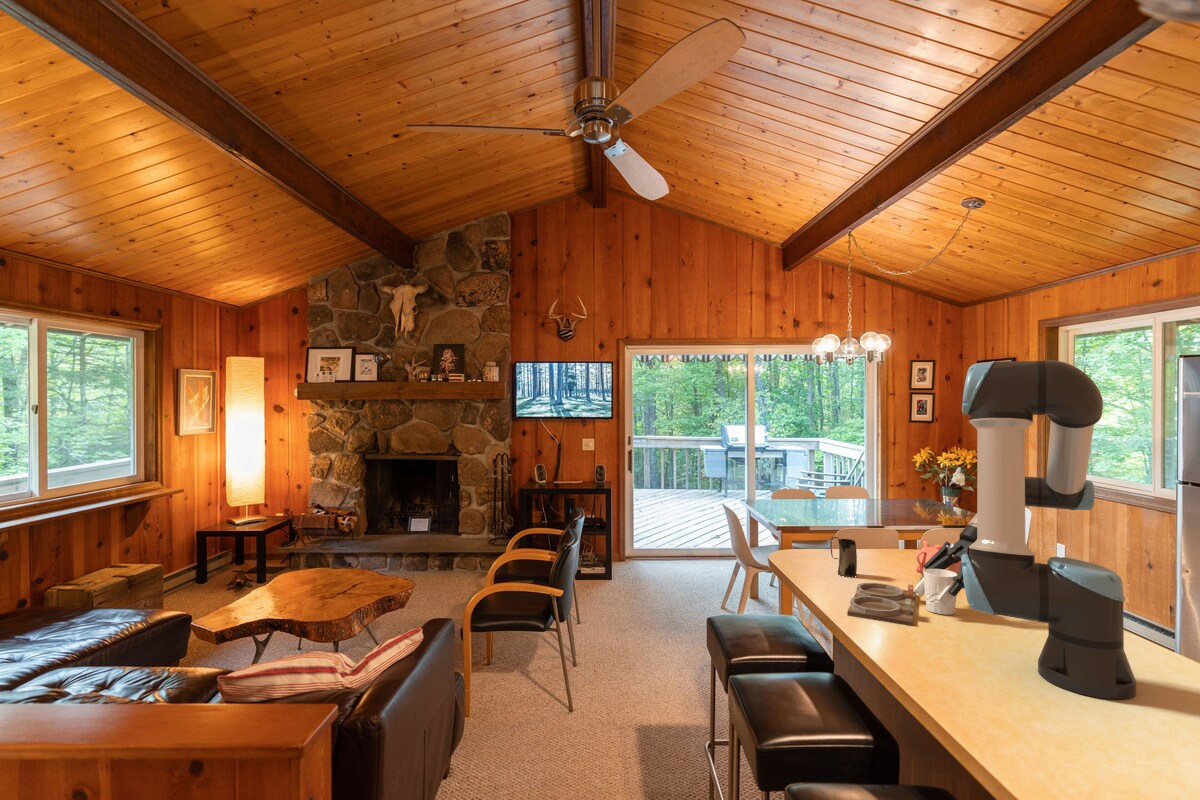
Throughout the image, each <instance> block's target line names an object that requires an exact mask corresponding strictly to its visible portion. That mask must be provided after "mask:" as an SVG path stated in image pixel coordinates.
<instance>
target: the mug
mask: <svg viewBox="0 0 1200 800" xmlns="http://www.w3.org/2000/svg"><path fill="white" fill-rule="evenodd" d="M834 539H838V550H839V551H838V554H839V555H838V556H839V557H838V558H836V557H834V556H833V546H832V543H833V542H832V541H833V540H834ZM829 543H830V544H829V545H830V547H829V548H830V555H831V557H832V558H833V560H838V569H837V575H838V576H839V575H840V577H842V576H844V577H843V578H848V577H853V578H856V577H857V571H858V555H857V544H856V541H855V540H854V539H851V538H850V539H849V538H839V537H837V536H832V537H831V538H830V540H829ZM855 576H856V577H855Z"/></svg>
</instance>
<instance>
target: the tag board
mask: <svg viewBox="0 0 1200 800" xmlns="http://www.w3.org/2000/svg"><path fill="white" fill-rule="evenodd" d="M916 600H917V592H916V591H915V590H914V584H908V585H907V589H902V588H900V587H898V586H894V585H893V584H892V585H891V584H887V583H880V582H863V583H862V582H861V583H858V584H857V585H856V591H855V593H854V596H853V597H851V599H850V601H849V602H850V605H849V608H848V609H847V611H846V612H847V614H846V615H847V616H848V617H854V618H860V619H861V618H862V619H868V620H873V621H874V620H875V621H879V622H887V623H892V624H893V623H894V624H899V625H905V626H913V625H914V618H915V617H914V616H915V610H914V609H916V602H917V601H916ZM915 601H916V602H915Z"/></svg>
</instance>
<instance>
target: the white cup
mask: <svg viewBox="0 0 1200 800" xmlns="http://www.w3.org/2000/svg"><path fill="white" fill-rule="evenodd" d="M923 573H924V591H925V593H924V599H925V609H926V610H928V611H929V612H932V613H935V614H939V615H954V614H956V604H957V595H958V594H957V595H956V596H954V597H953V598H952V599H951V600H950V602H949V603H948V604H947V605H946V607H945V606H943V605H942V604H941V603H940V602H939V601H938V600H937V598H938V597H939V595H940V594H941V593H942V592H943V590H944V589H945V588H946V587H947V585H948V584H949V583H950V582H951V581H952V580H954V578H956V577H957V574H956V573H954V572H952V571H948V570H942V569H925V570H924V571H923ZM954 581H955V580H954ZM955 582H956V581H955Z"/></svg>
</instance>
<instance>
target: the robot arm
mask: <svg viewBox="0 0 1200 800" xmlns="http://www.w3.org/2000/svg"><path fill="white" fill-rule="evenodd" d="M1103 409H1104V401H1103V396H1102V394H1101V391H1100V389H1099V387H1098V385H1097V384H1096V382H1094V380H1093V379H1092V378H1091V377H1090V376H1089V375H1088V374H1086V373H1085V372H1084V371H1083V370H1081V369H1080V368H1079V367H1077V366H1075V365H1072V364H1070V363H1068V362H1064V361H1061V360H1057V359H1056V360H1053V359H1044V360H1015V361H1014V360H1010V361H1009V360H1005V361H1003V360H1002V361H1000V360H999V361H994V360H992V361H988V362H987V361H986V362H978V363H974V364H972V365H970V366H969V368H968V369H967V373H966V376H965V382H964V388H963V395H962V404H961V412H962V415H966V416H969V424H970V425H972V426H973V427H974V428H975V429H976V431H977V437H976V438H977V442H976V444H977V449H976V451H977V454H976V455H977V459H976V460H977V461H976V462H977V471H976V473H977V476H976V477H977V479H976V481H977V482H976V483H977V489H976V491H977V497H976V499H977V503H976V504H977V505H976V506H977V508H976V510H977V511H976V514H975V515H974V516H973V518H971V519H970V521H969V522H968V525H966V526H965V527H964V528H963V529H962V530H961V531H960V533H959V539H958V540H957V541H956V542H955V543H950V542H949V541H945V542H944V543H943V544H942V545H943V546H942V548H941V549H940V550H939V551H938V552H937V553H936V554H935V555H934V556H933V557H932V558H931V559H930V560H929V561H927V562H926V563H925V564H924V566H923V567H924V568H925V569H942V570H945V569H946V568H948V567H949V566H951V565H952V564H954V563H958V562H959V561H961V565H960V568H959V571H958V574H957V577H956V578H954V580H955V581H956V582H955V581H954V580H952V581H951V582H950V583H949V584H948V585H947V587H946V588H945V589H944V590H943V592H942V593H941V594H940V595H939V597H938V598H937V600H938V601H939V602H940V603H941V604H942V605H943V606H945V607H946V605H947V604H948V603H949V602H950V600H951V599H952V598H953V597H954V596H956V595H958V593H959V592H960V591H961V590H962V589H964V592H965V596H966V601H967V604H968V606H969V607H970V608H971V609H973V610H974V611H977V612H981V613H986V614H990V615H992V616H994V617H995V616H1002V617H1009V618H1014V619H1021V620H1026V621H1032V622H1039V623H1045V624H1048V635H1047V638H1046V641H1045V642H1044V644H1043V647H1042V650H1041V652H1040V654H1039V657H1038V660H1037V673H1038V674H1039V676H1041V677H1042V678H1043V679H1044V680H1045V681H1047V682H1049V683H1051V684H1052V685H1054V686H1057V687H1059V688H1061V689H1064V690H1066V691H1067V690H1068V691H1071V692H1074V693H1076V694H1080V695H1085V696H1089V697H1093V698H1099V699H1107V700H1128V699H1131V698H1134V697H1135V696H1136V695H1137V681H1136V680H1137V679H1136V677H1135V675H1134V672H1133V670H1132V667H1131V664H1130V663H1129V659H1128V657H1127V655H1126V652H1125V643H1124V641H1125V637H1124V635H1125V634H1124V633H1125V632H1124V630H1125V629H1124V626H1125V625H1124V602H1125V601H1126V598H1125V595H1124V585H1123V580H1122V578H1121V576H1120V575H1119V574H1118V573H1117V572H1115V571H1113V570H1111V569H1109V568H1107V567H1105V566H1102V565H1099V564H1095V563H1093V562H1089V561H1085V560H1081V559H1076V558H1071V557H1063V556H1062V557H1060V556H1050V557H1049V558H1048V560H1047V561H1046V563H1041V562H1040V563H1039V562H1036V561H1035V559H1036V558H1035V557H1036V556H1035V552H1034V551H1032V549H1031V548H1030V547H1029V546H1027V543H1026V507H1032V508H1033V507H1035V508H1047V509H1048V508H1049V509H1059V510H1070V511H1091V510H1092V509H1093V508H1094V505H1095V485H1094V483H1093V481H1091V480H1089V479H1087V473H1088V467H1089V462H1090V461H1089V460H1090V453H1091V447H1092V439H1093V434H1094V427H1095V425H1096V424H1097V423H1099V421H1100V420H1101V418H1102V415H1103ZM1044 415H1045V416H1046V417H1047V419H1048V420H1049V421H1050V425H1049V426H1050V429H1049V438H1048V439H1049V440H1048V452H1047V453H1048V454H1047V466H1046V467H1047V468H1046V477H1040V476H1025V475H1026V472H1025V471H1026V467H1025V465H1026V460H1025V458H1026V455H1025V453H1026V450H1025V448H1026V447H1025V444H1026V443H1025V432H1026V430H1028V428H1029V427H1030V426H1031V425H1033V424H1034V416H1044ZM952 555H954V557H955V558H954V557H953V556H952ZM913 591H914V592H916V594H917V595H919V596H920V597H923V596H925V591H924V576H922V577H921V578H920V580H919V582H918V583H917V585H916V586H915V587H913Z"/></svg>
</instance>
